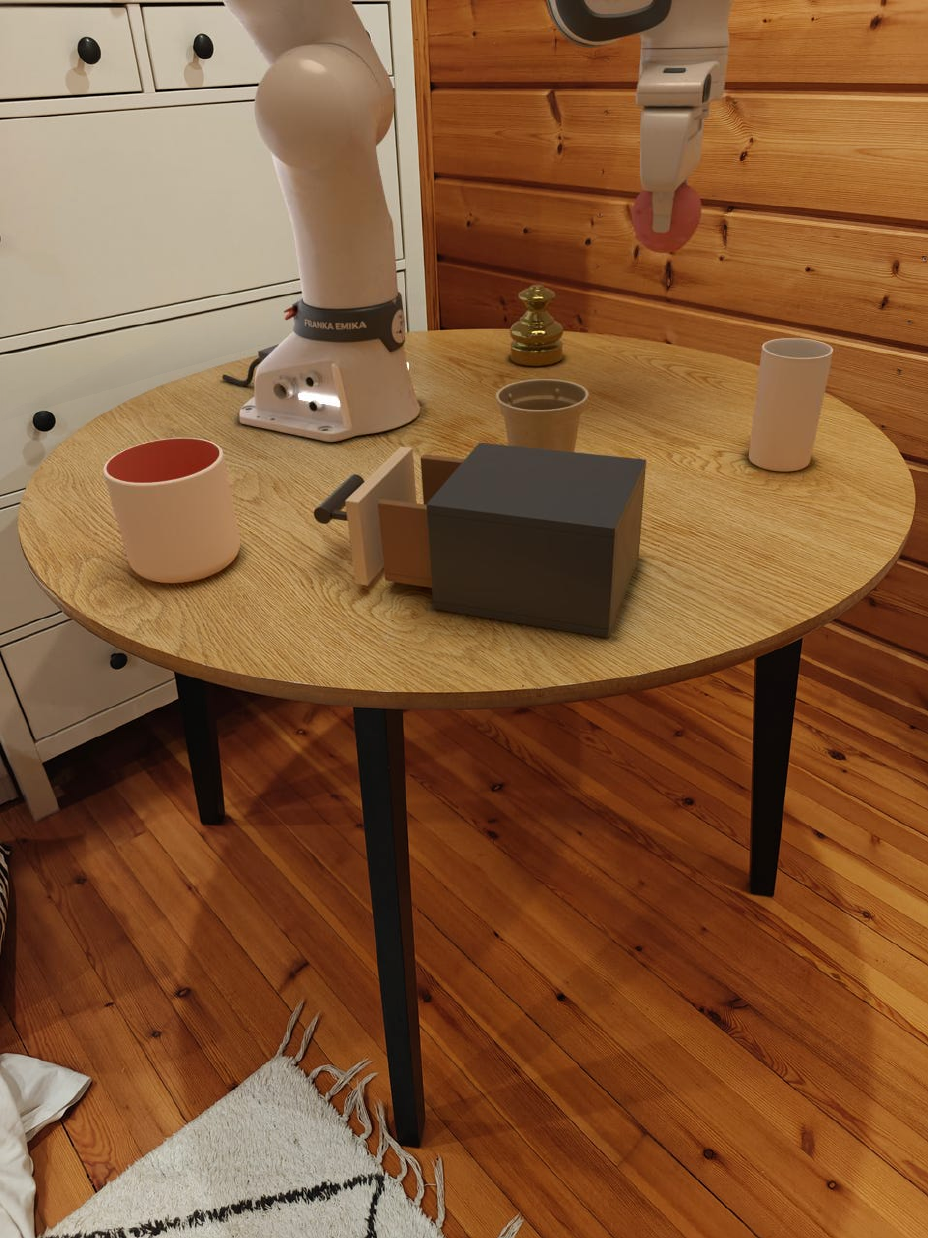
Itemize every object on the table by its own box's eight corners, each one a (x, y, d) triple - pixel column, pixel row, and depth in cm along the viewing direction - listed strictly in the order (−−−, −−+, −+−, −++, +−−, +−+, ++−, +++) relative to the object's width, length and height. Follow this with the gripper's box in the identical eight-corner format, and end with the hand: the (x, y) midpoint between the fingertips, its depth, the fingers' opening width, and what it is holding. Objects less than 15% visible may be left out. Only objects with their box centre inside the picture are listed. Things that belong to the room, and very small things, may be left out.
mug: (821, 471, 93) (844, 356, 87) (757, 475, 93) (775, 360, 87) (788, 434, 102) (806, 327, 95) (729, 437, 102) (743, 330, 95)
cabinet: (433, 609, 74) (426, 504, 69) (482, 539, 84) (479, 442, 79) (608, 638, 70) (615, 528, 65) (638, 560, 80) (646, 459, 74)
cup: (144, 539, 87) (118, 441, 81) (248, 531, 87) (230, 433, 82) (119, 593, 78) (89, 488, 73) (235, 585, 79) (214, 479, 73)
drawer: (308, 576, 78) (296, 494, 73) (364, 517, 87) (356, 441, 82) (507, 608, 72) (505, 521, 68) (544, 542, 81) (545, 461, 77)
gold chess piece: (511, 351, 131) (511, 279, 126) (562, 350, 131) (564, 278, 125) (508, 367, 125) (507, 293, 120) (562, 367, 124) (564, 292, 119)
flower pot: (484, 485, 94) (482, 405, 89) (512, 450, 101) (511, 375, 96) (573, 496, 91) (575, 414, 86) (594, 459, 98) (598, 382, 93)
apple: (659, 261, 99) (667, 181, 94) (616, 250, 104) (622, 173, 100) (709, 253, 102) (720, 175, 97) (666, 242, 107) (674, 167, 103)
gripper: (666, 74, 102) (654, 207, 110) (633, 86, 86) (622, 240, 94) (723, 74, 101) (707, 208, 108) (700, 86, 85) (683, 243, 92)
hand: (667, 223), depth 101 cm, fingers closed on apple, 7 cm apart
